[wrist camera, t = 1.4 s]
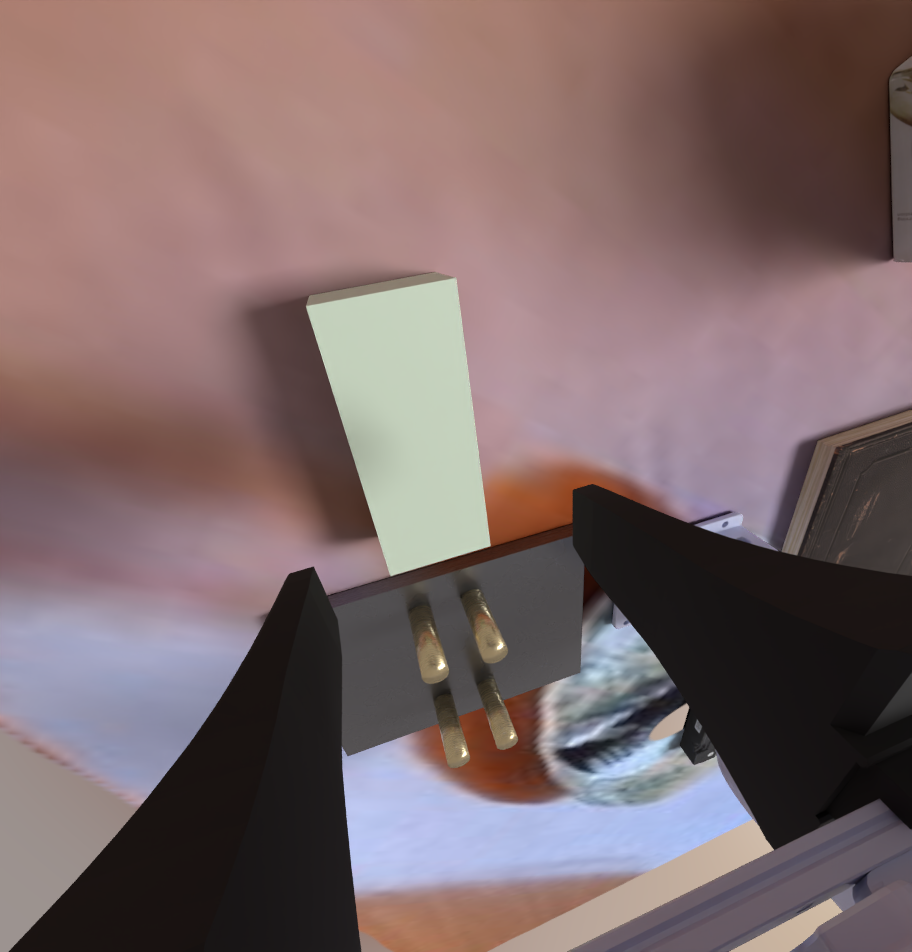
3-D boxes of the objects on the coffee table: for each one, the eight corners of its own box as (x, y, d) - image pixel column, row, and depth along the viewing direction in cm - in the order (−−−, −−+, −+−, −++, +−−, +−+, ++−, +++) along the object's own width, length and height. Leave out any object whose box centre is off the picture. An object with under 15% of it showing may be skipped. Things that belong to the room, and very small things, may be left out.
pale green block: (433, 271, 17) (456, 277, 14) (469, 507, 23) (490, 545, 20) (309, 294, 16) (305, 306, 13) (382, 532, 22) (390, 576, 19)
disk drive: (675, 741, 47) (784, 699, 49) (693, 767, 45) (806, 722, 47) (689, 689, 42) (810, 645, 44) (710, 716, 40) (837, 668, 42)
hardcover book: (741, 644, 40) (762, 664, 38) (806, 435, 28) (841, 449, 26) (874, 591, 42) (900, 607, 40) (987, 376, 30) (1032, 385, 28)
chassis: (576, 522, 25) (626, 577, 21) (573, 661, 33) (610, 723, 28) (277, 611, 22) (266, 695, 18) (346, 741, 30) (350, 823, 25)
